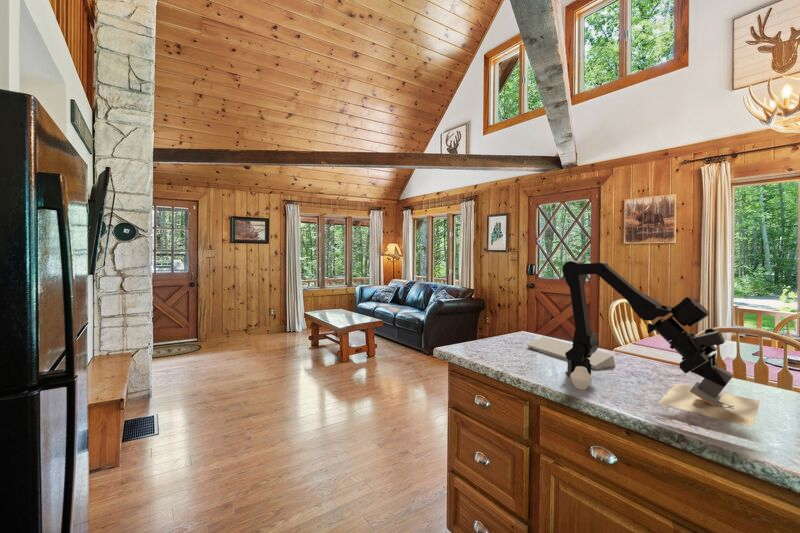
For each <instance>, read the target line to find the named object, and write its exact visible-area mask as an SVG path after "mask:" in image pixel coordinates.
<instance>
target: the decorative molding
mask: <svg viewBox="0 0 800 533" xmlns="http://www.w3.org/2000/svg"><path fill="white" fill-rule="evenodd" d="M526 345H527V348H528V347H529V348H528V349H530V348H532V349H531V350H533V349H535V350H534V351H536V350H538V351H537V352H540V351H541V352H540V353H543V352H544V353H543V354H546V353H547V354H546V355H549V356H552V355H553V357H555V358H558V359H561V360H564V359H565V361H568V360H567V358H566V355H565V353H566V352H567V351H569V350H570V349H571V348H573V347H572V346H573V343H570V342H565V341H562V340H558V339H554V338H550V337H547V336H541V337H539V338H538V339H536V340H533V341H531V342H528V343H527V344H526ZM588 359H589V360H590V364H591V370H592V369H593V370H595V371H596V370H603V369H606V368H613V367H616V363H615V359H614V355H613V354H610V353H605V352H602V351H598V350H596V351H595V353H593V354H592V355H591V357H590V358H588Z"/></svg>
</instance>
